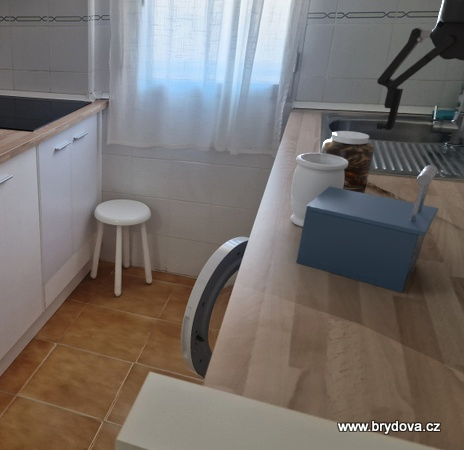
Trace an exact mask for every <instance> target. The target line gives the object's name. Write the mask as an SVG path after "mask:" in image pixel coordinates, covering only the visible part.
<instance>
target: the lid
mask: <svg viewBox="0 0 464 450" xmlns="http://www.w3.org/2000/svg"><path fill="white" fill-rule="evenodd" d="M437 173H438V168H437V166H435V165H433V164H428V165H425V167H424V168H422V170H421V172H420V173H419V174H418V175H417V177H416V183H417V185H419V187H418V191H417V195H416V198H415V201H414V202H409V201H406V200H401V199H395V198H390V197H385V196H379V195H375V194H370V193H360V192H355V191H350V190H345V189H340V188H335V187H330V186H329V187H328V188H327V189H326V190H325V191H323V192H322V193H321V194H320V195H319V196H318V197H317V198H315V199H314V200H313V201H312V202H311V203H310V204H308V205H307V208H306V209H307V210H311V211H315V212H319V213H324V214H328V215H333V216H337V217H341V218H346V219H350V220H355V221H359V222H363V223H368V224H372V225H377V226H381V227H385V228H390V229H394V230H399V231H403V232H407V233H412V234H416V235H421V236H424V237H425V236H426V234H427V233H428V230H429V228H430V227H431V225H432V223H433V221H434V219H435V218H436V216H437V214H438V212H439V208H438V207H437V206H436V207H435V206H431V205H424V203H425V200H426V196H427V194H428V193H427V192H428V189H429V185H430V184H431V182H432V181H433V179H434V178H435V176H436V175H437Z"/></svg>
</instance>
